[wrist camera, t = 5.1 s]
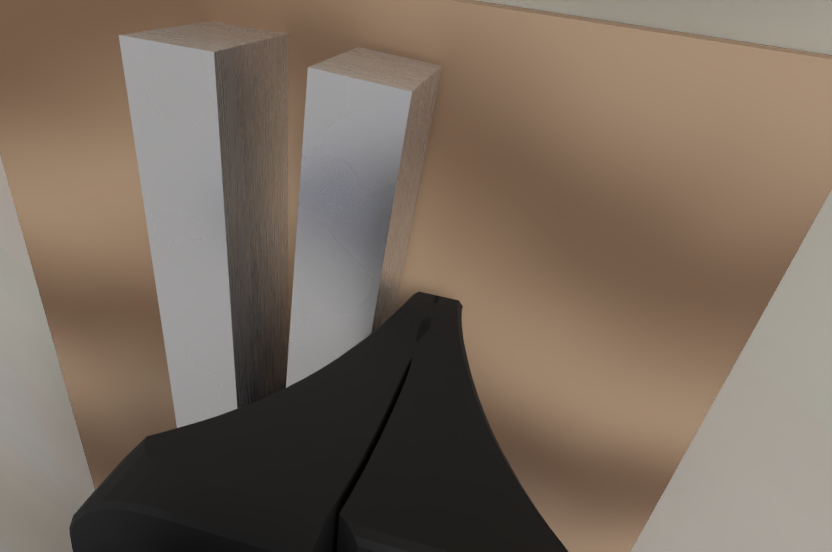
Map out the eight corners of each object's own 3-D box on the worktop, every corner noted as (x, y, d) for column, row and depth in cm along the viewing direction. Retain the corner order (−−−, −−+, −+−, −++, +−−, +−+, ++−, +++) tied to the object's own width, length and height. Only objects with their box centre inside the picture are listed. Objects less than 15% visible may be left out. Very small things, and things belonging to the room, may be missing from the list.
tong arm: (352, 588, 19) (324, 676, 17) (289, 567, 19) (251, 650, 17) (462, 70, 10) (435, 102, 8) (339, 42, 10) (273, 64, 8)
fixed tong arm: (292, 517, 18) (251, 602, 16) (239, 501, 18) (190, 584, 16) (295, 35, 10) (216, 55, 8) (205, 20, 11) (100, 35, 8)
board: (573, 622, 19) (574, 652, 18) (118, 489, 21) (101, 510, 21) (867, 60, 9) (897, 69, 9) (-22, -76, 12) (-66, -80, 11)
